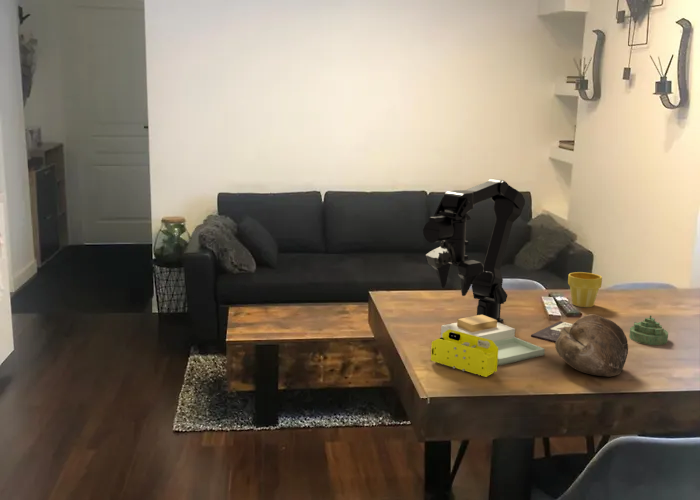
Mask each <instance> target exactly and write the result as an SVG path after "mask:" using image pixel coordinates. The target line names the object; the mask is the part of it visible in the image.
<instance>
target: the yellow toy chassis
mask: <svg viewBox="0 0 700 500" xmlns="http://www.w3.org/2000/svg"><path fill="white" fill-rule="evenodd" d="M452 332H454V333H452ZM451 335H452V336H451ZM486 341H488V342H486ZM489 343H490V347H489ZM430 361H431V362H434V363H436V364H437V363H438V364H441V365H443V364H444V365H443V366H448V367H451V368H452V369H457V370H461V371H462V372H469V373H471V374H475V375H476V374H478V375H477V376H480V375H481V376H482V377H486V378H487V377H489V376H491V375H493V374H494V373H496V372H498V365H497V361H498V347H497V346H496V345H495V343H494V342H493V341H492V340H489V339H485V338H481V337H477V336H473V335H470V334H466V333H462V332H458V331H454V330H450V329H449V330H447V331H446V332H444V333H442V337H441V336H440V337H439V338H436V339H434V340H433V341H431V351H430Z"/></svg>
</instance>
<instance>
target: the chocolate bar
mask: <svg viewBox="0 0 700 500" xmlns="http://www.w3.org/2000/svg"><path fill="white" fill-rule="evenodd" d="M572 324H573V323H569V322H566V321H559V320H558V321H557V322H555V323H554V324H551V325H549V326H547V327H545V328H543V329H540V330H538V331H536V332H534V333H532V334H530V337H531V338H536V339H538V340H543V341H547V342H551V343H554V344H556V340H557V339H558V338H559V336H560V331H561V330H562V329H563V328H564V327H571V326H572Z"/></svg>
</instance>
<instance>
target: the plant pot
mask: <svg viewBox="0 0 700 500" xmlns="http://www.w3.org/2000/svg"><path fill="white" fill-rule="evenodd" d="M567 275H568V278H567V284H568V286H569V289H570V290H569V291H570V297H571V304H572V305H573V306H575V307H579V308H592V307H594V305H595V303H596V302H595V301H596V299H597V296H598V293H599V289H600V288H601V287H602V282H603V276H602V275H599V274H596V273H592V272H583V271H577V272H576V271H575V272H570V273H569V274H567Z"/></svg>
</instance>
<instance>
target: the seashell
mask: <svg viewBox="0 0 700 500" xmlns="http://www.w3.org/2000/svg"><path fill="white" fill-rule="evenodd" d="M571 324H572V326H571V327H564V328H563V329H562V330H561V331H560V336H559V338H558V339H557V340H556V343H554V344H555V350H556V352H557V354H558V355H559V356H560V357H561V358H562V360H564V362H566V364H567V365H569V366H570V367H571V368H573V369H574V370H576V371H578V372H581V373H583V374H587V375H592V376H598V377H599V376H600V377H605V378H607V377H609V378H610V377H613V376H618V375H619V374H622V371H623V369H624V366H625V364H626V361H627V358H628V353H629V345H628V338H627V336H626V334H625V332H624V330H623V328H622V327H620V325H618V324H617V323H616V322H614V321H613V320H611V319H608V318H606V317H603V316H600V315H599V314H595V313H593V314H591V313H590V314H587V315H584V316H582V317H580V318H578V319H577V320H576V321H574V322H573V323H571Z"/></svg>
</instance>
